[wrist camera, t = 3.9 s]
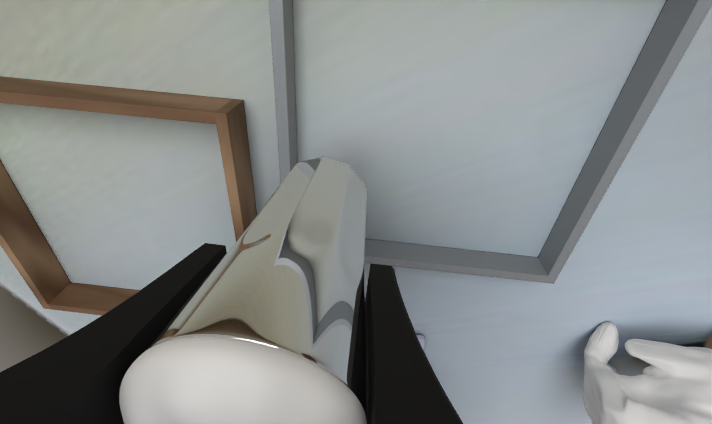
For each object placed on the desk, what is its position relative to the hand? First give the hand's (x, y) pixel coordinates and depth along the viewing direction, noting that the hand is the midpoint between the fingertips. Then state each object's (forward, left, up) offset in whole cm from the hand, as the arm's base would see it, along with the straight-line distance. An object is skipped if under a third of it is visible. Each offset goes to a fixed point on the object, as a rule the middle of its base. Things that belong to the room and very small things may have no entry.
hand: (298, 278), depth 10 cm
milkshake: (0, 0, -4) cm, 4 cm away
